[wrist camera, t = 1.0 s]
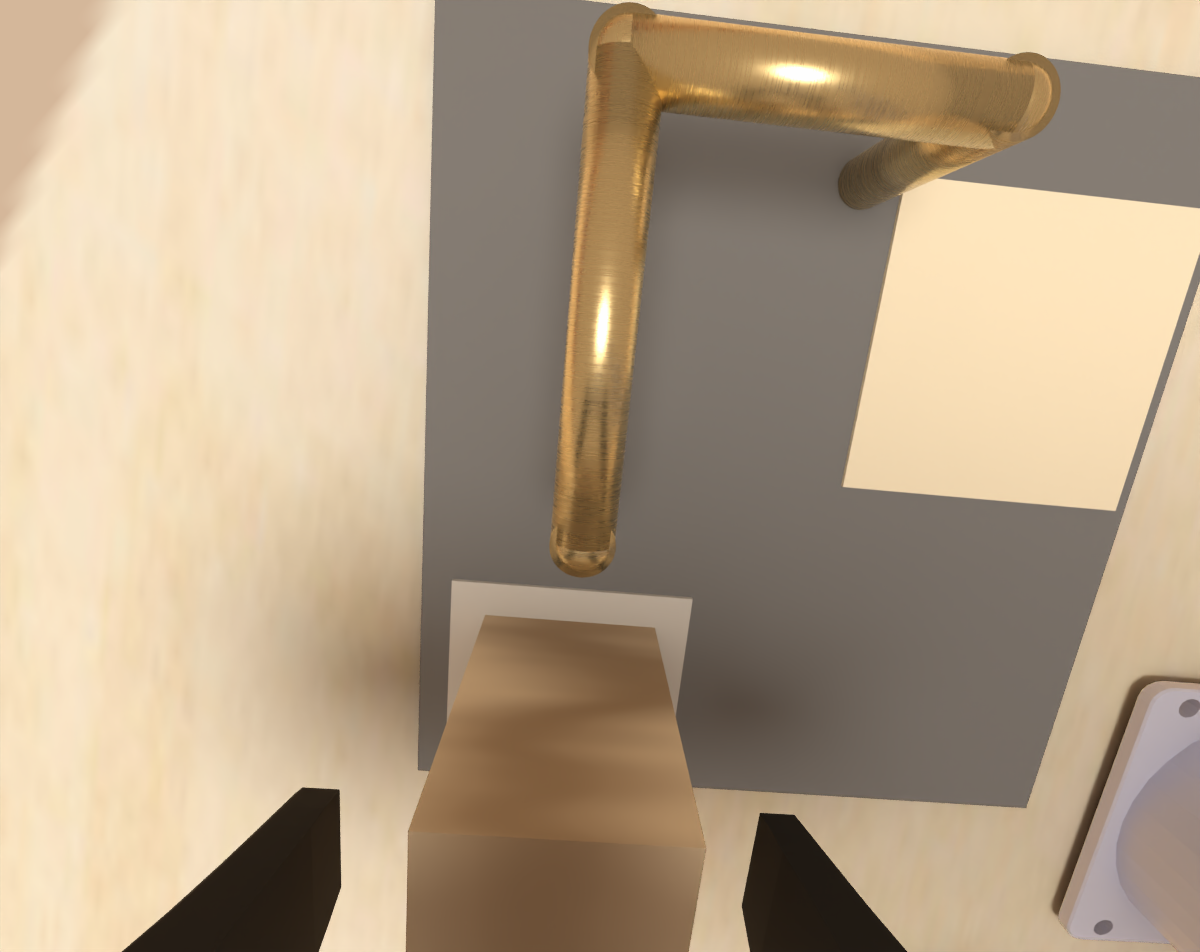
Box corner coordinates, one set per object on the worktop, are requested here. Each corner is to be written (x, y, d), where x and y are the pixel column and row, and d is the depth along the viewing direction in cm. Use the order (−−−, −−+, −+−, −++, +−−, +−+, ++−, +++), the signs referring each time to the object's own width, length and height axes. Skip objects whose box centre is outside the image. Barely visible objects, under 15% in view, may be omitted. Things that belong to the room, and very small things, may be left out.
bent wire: (892, 158, 11) (1083, 49, 7) (821, 518, 13) (938, 610, 9) (589, 123, 11) (592, -13, 7) (559, 496, 13) (546, 580, 9)
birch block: (654, 627, 14) (706, 848, 8) (636, 770, 15) (669, 1061, 9) (485, 614, 13) (408, 831, 8) (477, 760, 14) (404, 1050, 9)
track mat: (1247, 91, 11) (1271, 82, 11) (1014, 808, 16) (1025, 820, 15) (439, -9, 11) (434, -22, 10) (420, 771, 15) (416, 782, 15)
